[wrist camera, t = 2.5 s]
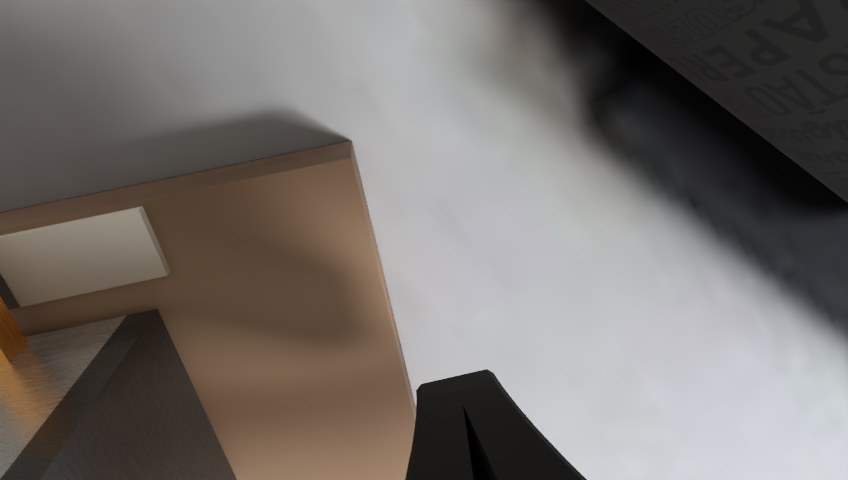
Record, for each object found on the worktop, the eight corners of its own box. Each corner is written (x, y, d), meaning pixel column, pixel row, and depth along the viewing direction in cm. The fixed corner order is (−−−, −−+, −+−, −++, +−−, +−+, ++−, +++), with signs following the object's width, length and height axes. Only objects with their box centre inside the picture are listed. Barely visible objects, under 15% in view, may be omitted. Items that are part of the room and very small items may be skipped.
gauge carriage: (239, 484, 12) (181, 714, 8) (45, 529, 12) (-113, 787, 8) (109, 206, 9) (-82, 351, 5) (-153, 259, 9) (-561, 453, 5)
